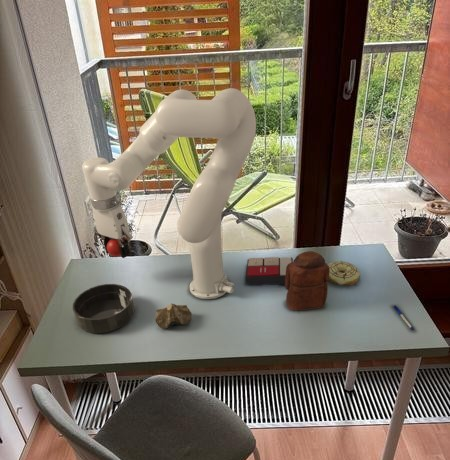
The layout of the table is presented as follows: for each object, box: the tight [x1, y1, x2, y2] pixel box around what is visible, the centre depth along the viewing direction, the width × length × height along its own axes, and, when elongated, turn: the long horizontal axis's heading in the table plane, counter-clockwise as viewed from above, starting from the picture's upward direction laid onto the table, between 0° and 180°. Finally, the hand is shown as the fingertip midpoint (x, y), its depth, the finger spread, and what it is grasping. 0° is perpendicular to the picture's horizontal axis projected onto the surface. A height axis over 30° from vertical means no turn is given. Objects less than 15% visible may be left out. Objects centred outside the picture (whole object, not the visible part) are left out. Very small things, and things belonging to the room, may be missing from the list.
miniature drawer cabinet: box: [245, 256, 294, 286], centre depth 141 cm, size 11×4×15 cm
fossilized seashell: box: [154, 303, 193, 329], centre depth 124 cm, size 8×7×10 cm
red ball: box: [107, 238, 124, 258], centre depth 137 cm, size 6×6×6 cm
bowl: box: [72, 283, 136, 334], centre depth 128 cm, size 17×17×6 cm
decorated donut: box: [327, 260, 361, 287], centre depth 138 cm, size 10×11×4 cm
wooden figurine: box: [284, 250, 330, 312], centre depth 124 cm, size 12×6×18 cm, turn 97°
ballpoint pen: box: [393, 305, 414, 331], centre depth 122 cm, size 10×1×1 cm, turn 11°
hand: (118, 253), depth 138 cm, fingers closed on red ball, 6 cm apart
